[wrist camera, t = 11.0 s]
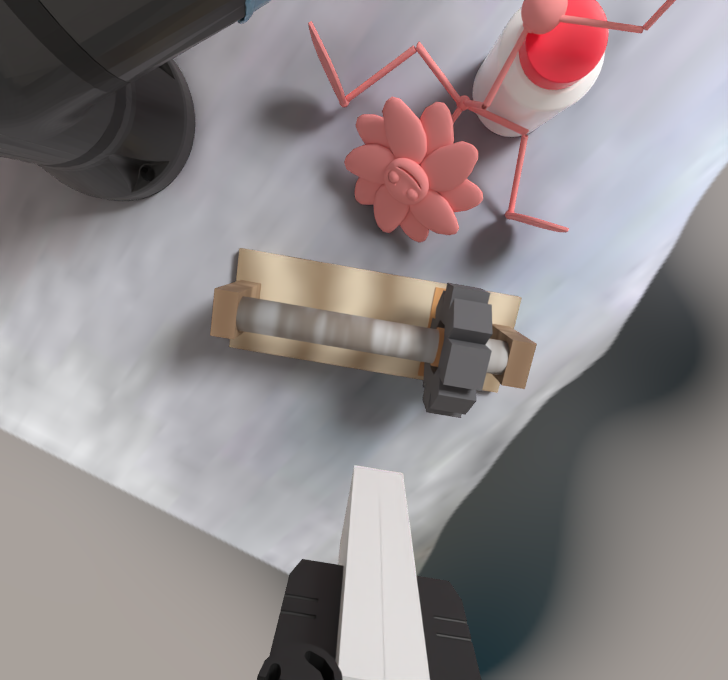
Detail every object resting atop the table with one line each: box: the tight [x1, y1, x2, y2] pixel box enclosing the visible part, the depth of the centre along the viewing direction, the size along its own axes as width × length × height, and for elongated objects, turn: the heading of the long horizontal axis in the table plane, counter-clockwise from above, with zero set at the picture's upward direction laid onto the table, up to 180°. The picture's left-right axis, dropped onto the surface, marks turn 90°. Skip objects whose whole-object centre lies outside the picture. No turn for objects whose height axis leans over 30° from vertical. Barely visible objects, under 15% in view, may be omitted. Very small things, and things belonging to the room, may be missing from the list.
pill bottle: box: [472, 0, 608, 137], centre depth 35 cm, size 8×8×11 cm
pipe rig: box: [210, 248, 537, 393], centre depth 41 cm, size 28×10×9 cm, turn 80°
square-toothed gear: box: [423, 283, 493, 418], centre depth 38 cm, size 3×11×11 cm, turn 171°
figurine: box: [308, 0, 676, 242], centre depth 28 cm, size 15×26×35 cm
